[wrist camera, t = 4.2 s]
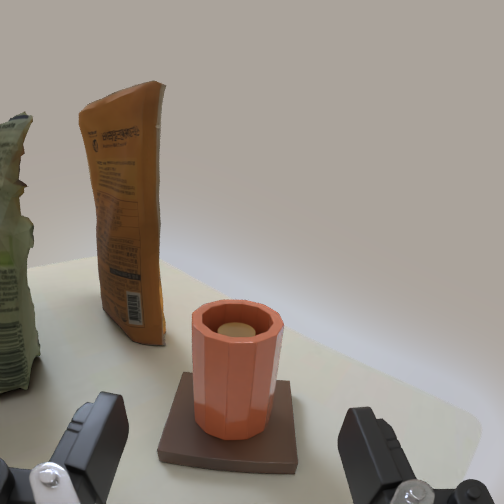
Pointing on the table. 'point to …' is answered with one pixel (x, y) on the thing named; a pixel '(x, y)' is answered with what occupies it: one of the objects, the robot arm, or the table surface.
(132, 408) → the table surface
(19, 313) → the pouch
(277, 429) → the ring stand
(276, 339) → the faceted terracotta cup
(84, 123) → the pancake mix bag
